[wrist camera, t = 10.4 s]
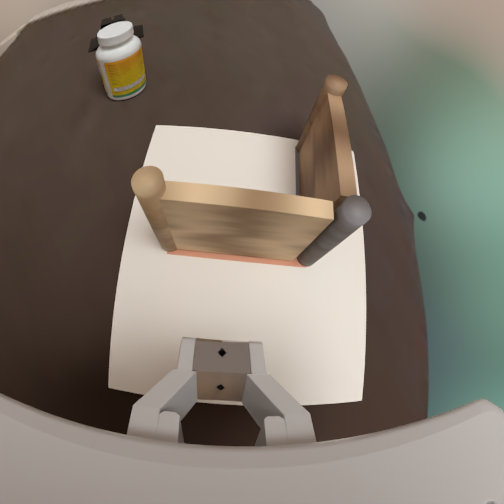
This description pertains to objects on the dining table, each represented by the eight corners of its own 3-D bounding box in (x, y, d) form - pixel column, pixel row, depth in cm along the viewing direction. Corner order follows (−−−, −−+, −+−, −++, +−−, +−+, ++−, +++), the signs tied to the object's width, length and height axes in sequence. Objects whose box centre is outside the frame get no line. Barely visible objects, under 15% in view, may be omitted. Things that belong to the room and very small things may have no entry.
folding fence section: (158, 250, 23) (127, 193, 14) (161, 230, 24) (135, 164, 14) (292, 264, 24) (341, 217, 15) (293, 244, 25) (339, 188, 15)
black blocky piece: (150, 23, 35) (148, 4, 31) (152, 40, 34) (150, 18, 29) (84, 42, 33) (79, 23, 28) (79, 61, 31) (72, 40, 27)
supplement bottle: (99, 95, 28) (81, 38, 19) (128, 72, 30) (117, 16, 21) (125, 106, 28) (109, 44, 19) (155, 82, 30) (148, 21, 21)
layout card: (359, 399, 22) (361, 400, 22) (109, 386, 20) (108, 387, 19) (352, 153, 30) (353, 151, 30) (156, 127, 28) (156, 125, 27)
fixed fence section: (315, 267, 25) (372, 225, 15) (296, 265, 25) (345, 220, 15) (311, 144, 29) (345, 77, 20) (295, 141, 29) (325, 72, 19)
